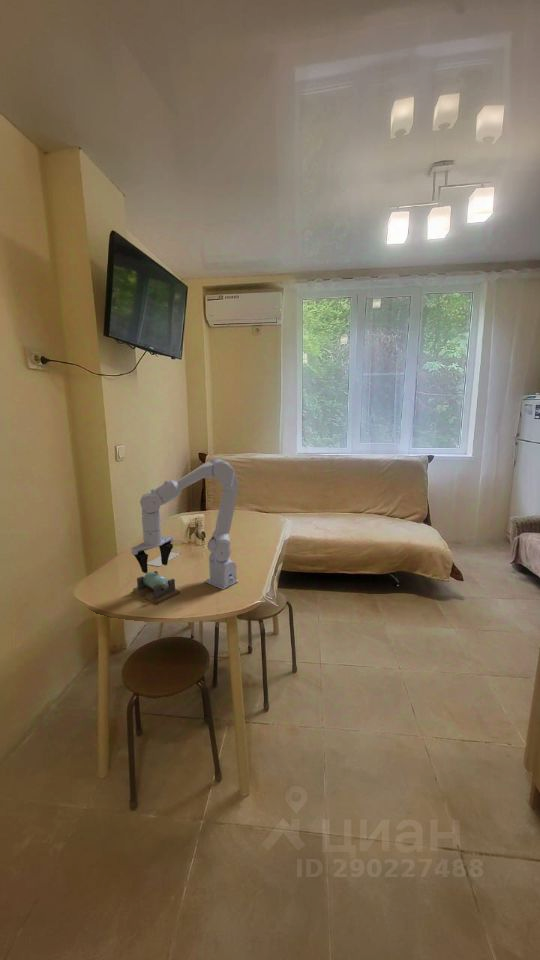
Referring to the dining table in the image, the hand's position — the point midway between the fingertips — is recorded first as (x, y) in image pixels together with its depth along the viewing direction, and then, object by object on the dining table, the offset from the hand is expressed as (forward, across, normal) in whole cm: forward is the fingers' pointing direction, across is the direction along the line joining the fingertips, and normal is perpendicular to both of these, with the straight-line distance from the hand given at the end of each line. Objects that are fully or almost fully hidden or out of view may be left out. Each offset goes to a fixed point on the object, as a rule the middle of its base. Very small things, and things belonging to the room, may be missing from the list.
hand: (154, 568), depth 121 cm
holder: (+9, 0, 0) cm, 9 cm away
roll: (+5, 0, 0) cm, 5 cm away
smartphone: (+9, -19, -23) cm, 31 cm away
